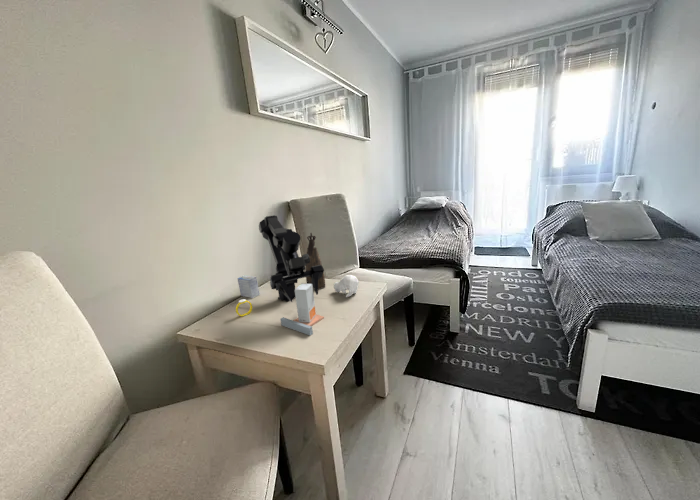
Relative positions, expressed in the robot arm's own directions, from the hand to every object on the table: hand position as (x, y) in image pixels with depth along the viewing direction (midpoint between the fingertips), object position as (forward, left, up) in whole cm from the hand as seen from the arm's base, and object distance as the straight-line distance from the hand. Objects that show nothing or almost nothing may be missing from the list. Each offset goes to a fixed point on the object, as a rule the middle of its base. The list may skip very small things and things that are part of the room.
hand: (304, 297), depth 99 cm
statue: (-26, -21, -9) cm, 35 cm away
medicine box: (-5, -42, -9) cm, 43 cm away
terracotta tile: (0, 0, -9) cm, 9 cm away
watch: (+8, -26, -9) cm, 29 cm away
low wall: (+6, +1, -9) cm, 11 cm away
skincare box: (0, 0, -8) cm, 8 cm away
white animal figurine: (-25, -3, -9) cm, 27 cm away
